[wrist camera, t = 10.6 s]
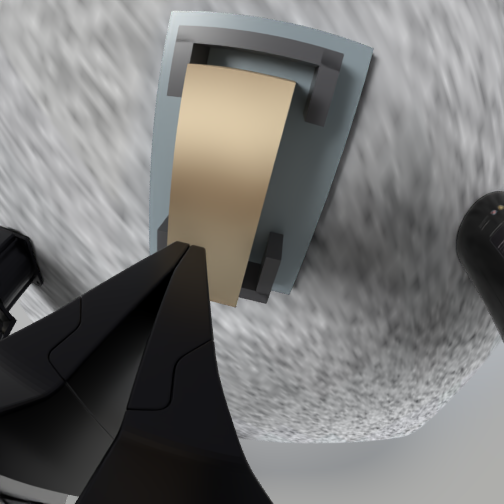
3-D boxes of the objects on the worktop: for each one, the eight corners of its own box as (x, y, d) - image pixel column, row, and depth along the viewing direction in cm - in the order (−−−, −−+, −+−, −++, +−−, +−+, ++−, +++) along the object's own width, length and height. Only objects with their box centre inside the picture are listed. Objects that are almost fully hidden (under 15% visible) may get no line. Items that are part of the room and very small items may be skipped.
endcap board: (289, 284, 20) (287, 322, 17) (155, 250, 20) (134, 282, 17) (368, 49, 11) (389, 43, 8) (178, 14, 10) (149, 2, 8)
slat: (250, 247, 17) (235, 307, 13) (195, 233, 17) (166, 288, 13) (294, 81, 12) (295, 83, 7) (223, 66, 11) (187, 63, 7)
